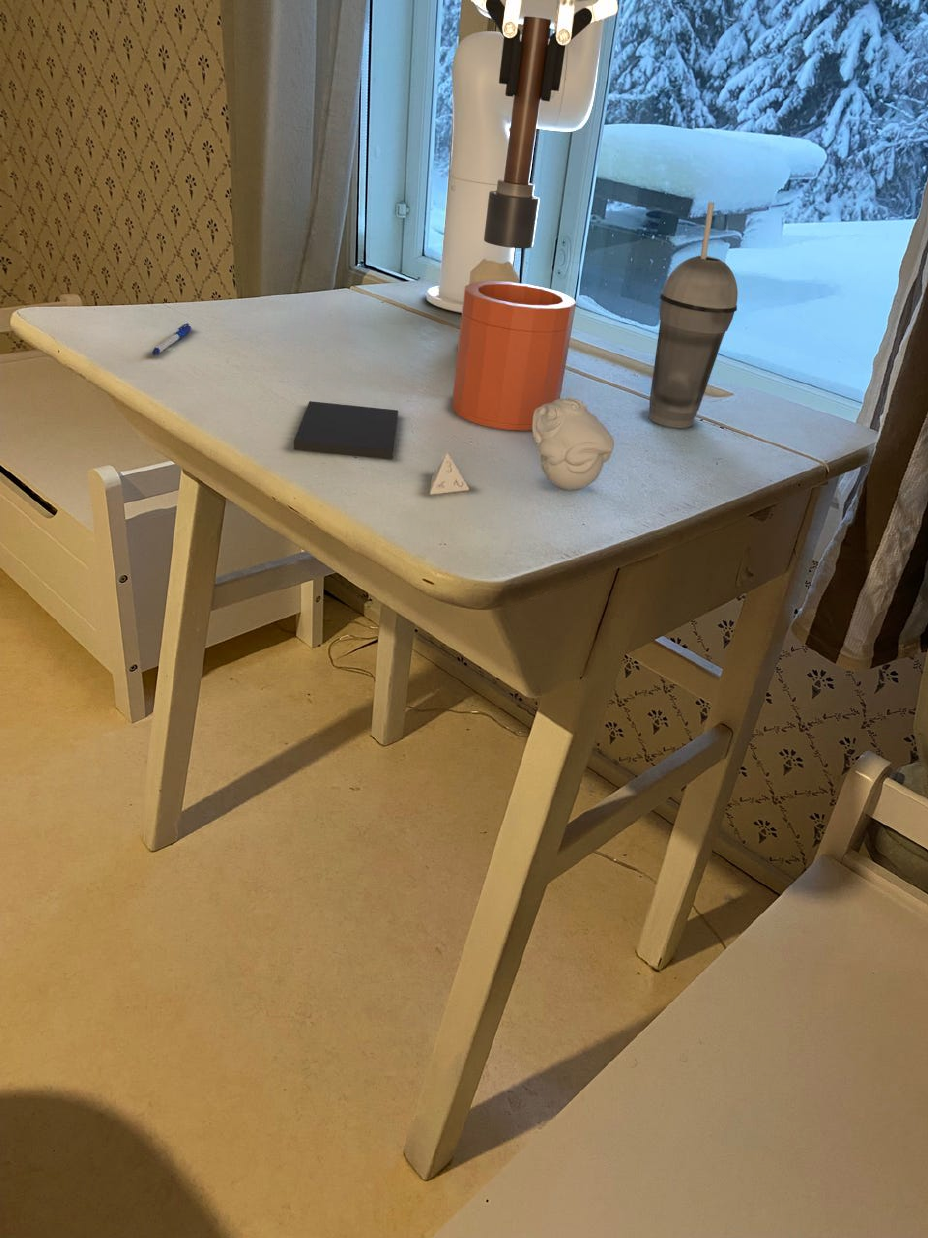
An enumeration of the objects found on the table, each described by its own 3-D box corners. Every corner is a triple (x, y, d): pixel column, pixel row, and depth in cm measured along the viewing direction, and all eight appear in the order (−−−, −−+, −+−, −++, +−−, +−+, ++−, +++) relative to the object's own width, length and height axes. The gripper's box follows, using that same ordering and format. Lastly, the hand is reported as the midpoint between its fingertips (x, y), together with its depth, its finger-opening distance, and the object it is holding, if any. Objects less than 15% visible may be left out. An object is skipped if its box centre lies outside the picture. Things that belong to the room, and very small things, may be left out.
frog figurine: (546, 463, 79) (559, 383, 75) (619, 489, 76) (637, 406, 72) (507, 482, 74) (520, 397, 71) (583, 510, 71) (600, 423, 68)
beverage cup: (669, 436, 89) (723, 210, 79) (619, 410, 94) (663, 195, 84) (721, 428, 93) (779, 213, 82) (670, 404, 98) (719, 198, 87)
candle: (510, 348, 110) (522, 259, 104) (507, 361, 105) (520, 268, 100) (464, 342, 110) (474, 252, 105) (459, 354, 105) (469, 261, 100)
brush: (483, 236, 85) (508, 15, 76) (530, 242, 85) (561, 22, 76) (484, 244, 81) (511, 12, 72) (534, 250, 81) (567, 20, 73)
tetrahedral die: (413, 497, 72) (408, 467, 70) (432, 477, 74) (429, 446, 71) (451, 511, 71) (447, 480, 69) (470, 489, 72) (467, 458, 70)
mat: (309, 409, 84) (309, 400, 83) (397, 418, 84) (398, 410, 84) (293, 449, 75) (293, 440, 75) (392, 459, 76) (393, 450, 75)
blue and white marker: (184, 330, 101) (183, 320, 100) (192, 331, 101) (191, 321, 100) (151, 356, 92) (150, 346, 91) (160, 357, 92) (159, 347, 91)
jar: (451, 390, 93) (464, 276, 88) (550, 401, 94) (568, 288, 88) (452, 424, 85) (466, 300, 79) (560, 435, 85) (581, 313, 80)
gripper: (661, -163, 72) (615, 108, 81) (455, -194, 70) (431, 84, 80) (682, -185, 65) (629, 112, 74) (455, -220, 64) (430, 86, 73)
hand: (527, 95), depth 77 cm, fingers closed on brush, 2 cm apart
